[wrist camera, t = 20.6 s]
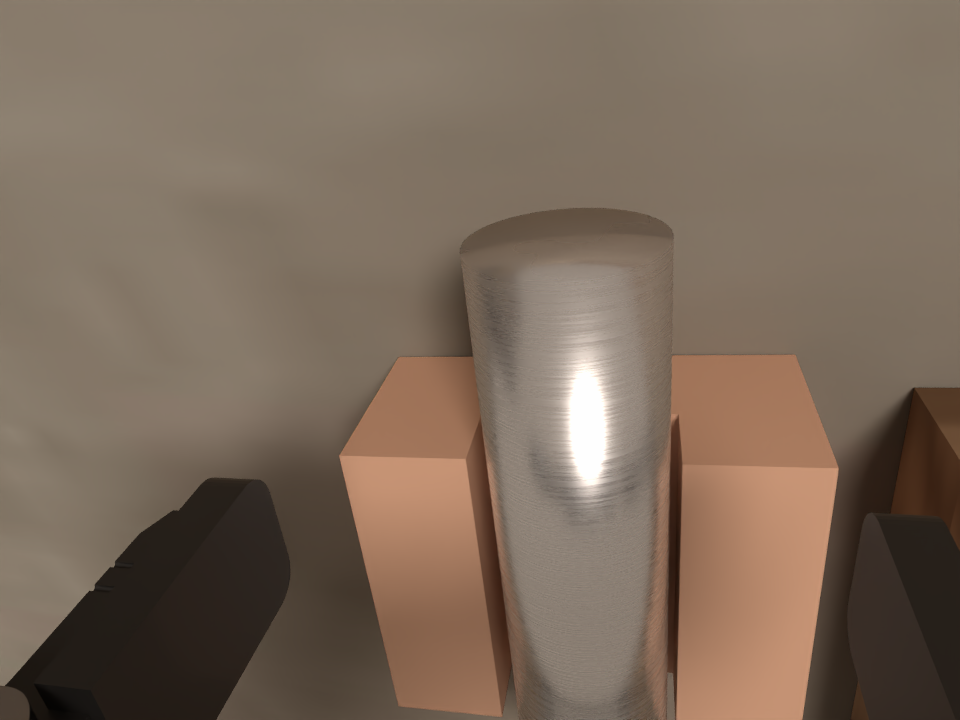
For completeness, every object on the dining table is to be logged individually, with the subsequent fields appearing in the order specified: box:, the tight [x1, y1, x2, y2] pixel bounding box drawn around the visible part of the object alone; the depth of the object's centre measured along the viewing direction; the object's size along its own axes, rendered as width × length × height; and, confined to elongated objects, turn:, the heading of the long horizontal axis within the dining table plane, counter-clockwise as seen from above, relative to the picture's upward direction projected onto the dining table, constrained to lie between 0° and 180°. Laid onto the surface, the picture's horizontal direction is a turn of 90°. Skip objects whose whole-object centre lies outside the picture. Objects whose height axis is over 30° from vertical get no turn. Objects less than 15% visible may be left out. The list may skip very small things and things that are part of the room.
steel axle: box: [460, 208, 674, 720], centre depth 18 cm, size 16×4×4 cm, turn 6°
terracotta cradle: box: [339, 355, 839, 720], centre depth 21 cm, size 9×11×5 cm
